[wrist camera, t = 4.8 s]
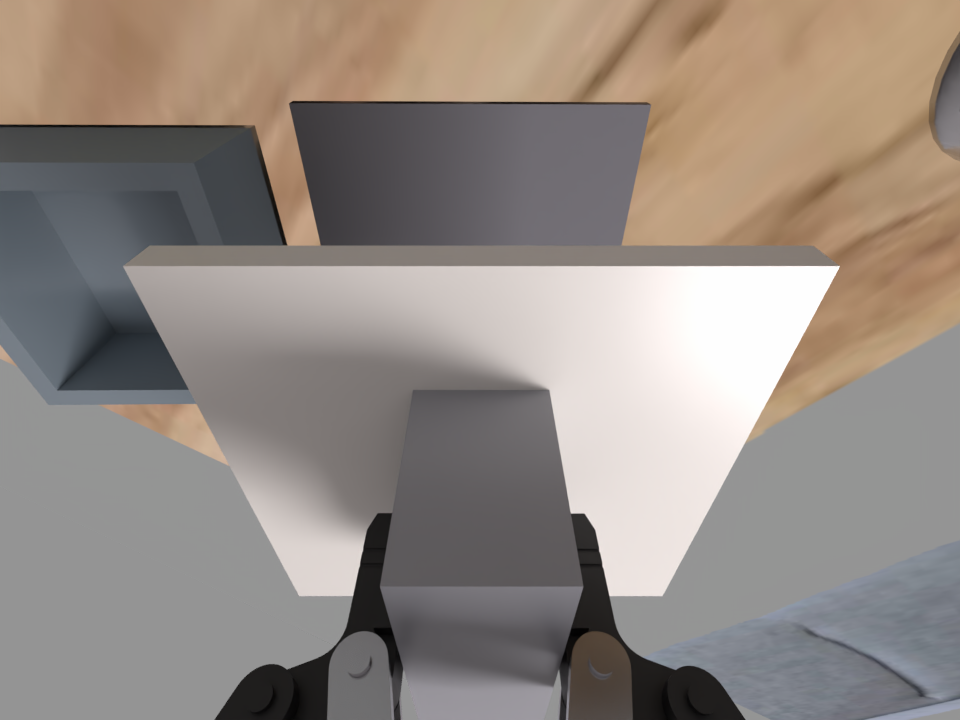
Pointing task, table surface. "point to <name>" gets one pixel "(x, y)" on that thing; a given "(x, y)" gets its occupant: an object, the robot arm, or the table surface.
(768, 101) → the table surface
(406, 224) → the mat
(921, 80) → the table surface
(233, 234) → the grey storage bin
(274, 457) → the lid
